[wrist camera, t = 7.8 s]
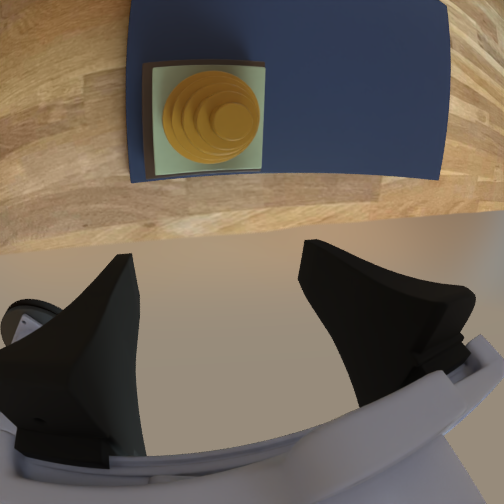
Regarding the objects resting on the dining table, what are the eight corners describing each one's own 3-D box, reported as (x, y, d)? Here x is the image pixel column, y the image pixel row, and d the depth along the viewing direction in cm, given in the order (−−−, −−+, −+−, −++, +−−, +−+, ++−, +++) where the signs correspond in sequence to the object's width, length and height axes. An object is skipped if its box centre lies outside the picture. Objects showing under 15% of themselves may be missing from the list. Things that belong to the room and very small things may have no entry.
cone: (207, 177, 14) (228, 219, 9) (144, 118, 11) (125, 125, 7) (270, 118, 13) (326, 129, 8) (212, 56, 11) (240, 25, 6)
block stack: (148, 170, 17) (142, 191, 13) (146, 69, 14) (137, 55, 9) (250, 163, 19) (274, 182, 15) (253, 67, 15) (280, 55, 11)
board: (132, 180, 18) (130, 183, 17) (148, -71, 7) (147, -77, 6) (432, 177, 26) (438, 180, 25) (440, 6, 15) (446, 5, 14)
